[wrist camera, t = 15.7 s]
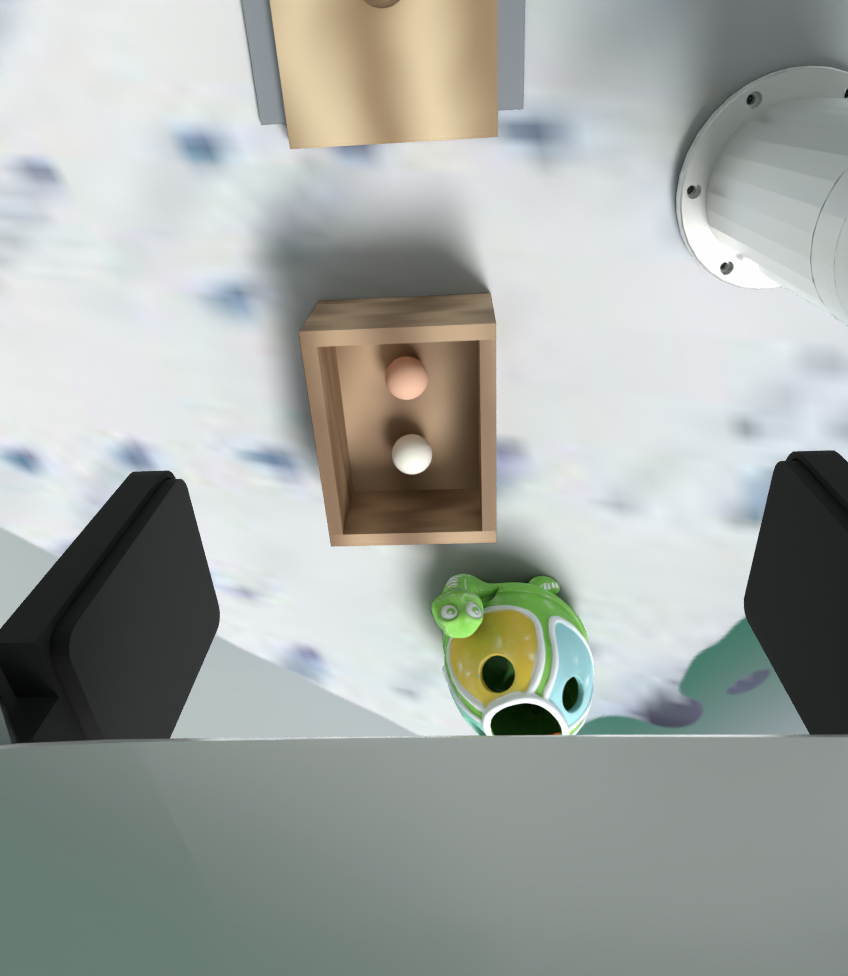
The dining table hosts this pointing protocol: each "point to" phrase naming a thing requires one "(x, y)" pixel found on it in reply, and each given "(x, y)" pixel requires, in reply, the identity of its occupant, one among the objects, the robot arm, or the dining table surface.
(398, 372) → the ball
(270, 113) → the felt pad
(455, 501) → the box
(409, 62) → the lid
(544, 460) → the dining table surface
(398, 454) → the ball
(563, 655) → the turtle holder
